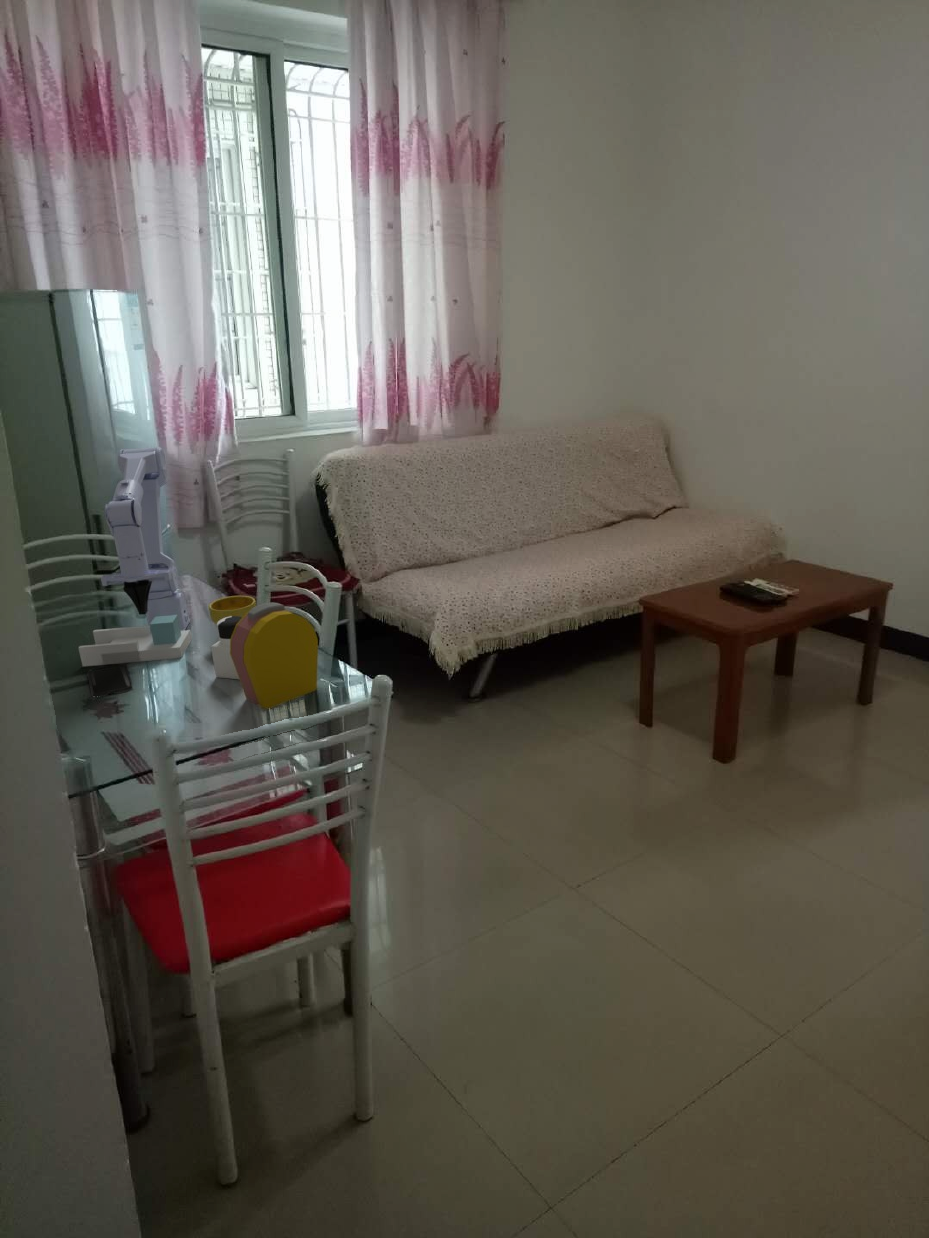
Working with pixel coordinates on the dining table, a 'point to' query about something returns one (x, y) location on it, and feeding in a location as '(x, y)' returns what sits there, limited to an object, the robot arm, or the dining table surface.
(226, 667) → the medicine bottle
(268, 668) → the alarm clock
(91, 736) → the dining table surface
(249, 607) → the plant pot
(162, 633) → the teal block
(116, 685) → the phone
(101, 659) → the grey channel
